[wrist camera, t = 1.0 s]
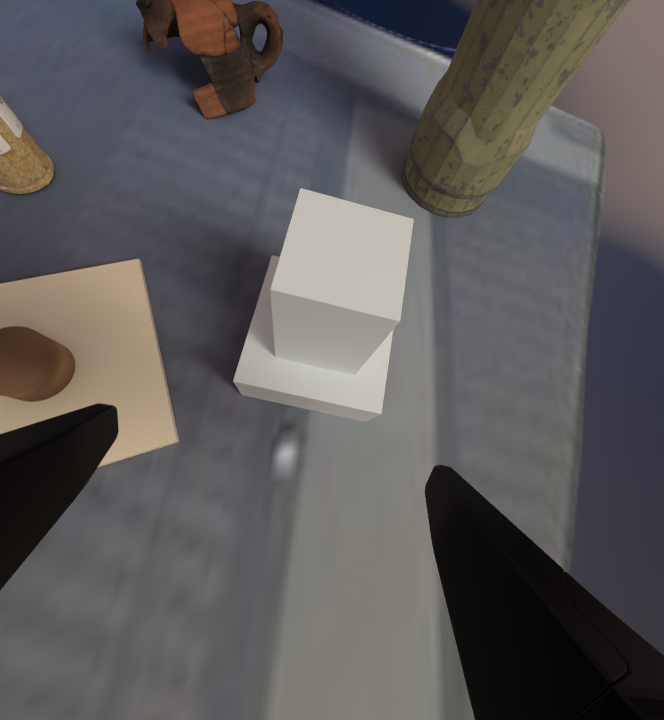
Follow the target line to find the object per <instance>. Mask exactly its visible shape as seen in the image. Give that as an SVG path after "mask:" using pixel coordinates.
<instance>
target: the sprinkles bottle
mask: <svg viewBox="0 0 664 720" xmlns="http://www.w3.org/2000/svg"><path fill="white" fill-rule="evenodd" d="M53 176H54V165H53V163H52V161H51V159H50V158H49V156H48V155H47V154H46V153H45V152H43V151H42V150H41V149H40V148H39V146H38V145H37V144H36V142H35V141H34V140H33V139H32V137H31V136H30V135H29V134H28V132H27V131H26V130H25V128H24V127H23V126H22V124H21V123H20V121H19V119H18V118H17V117H16V115H15V114H14V113H13V112H12V110H11V109H10V108H9V107H8V105H7V104H6V103H5V102H4V100H3V99H2V98H1V97H0V190H1V191H3V192H7V193H12V194H26V193H32V192H35V191H38V190H40V189H42V188H43V187H45V186H46V185H48V184H49V183H50V182H51V179H53Z"/></svg>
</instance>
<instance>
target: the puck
mask: <svg viewBox="0 0 664 720" xmlns="http://www.w3.org/2000/svg"><path fill="white" fill-rule="evenodd" d="M74 372H75V359H74V356H73V354H72V353H71V352H70V350H69V349H68V348H66V347H65V346H63V345H61V344H59V343H58V342H56V341H54V340H52V339H50V338H48V337H46V336H44V335H43V334H41V333H39V332H37V331H35V330H33V329H31V328H27V327H22V326H11V327H5V328H1V329H0V395H1V396H5V397H10V398H14V399H18V400H22V401H28V402H36V401H42V400H46V399H48V398H51V397H53V396H55V395H57V394H58V393H59V392H61V391H62V390H63V389H64V388H65V387H66V386H67V385H68V384H69V382H70V381H71V379H72V377H73V375H74Z"/></svg>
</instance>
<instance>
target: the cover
mask: <svg viewBox="0 0 664 720" xmlns="http://www.w3.org/2000/svg"><path fill="white" fill-rule="evenodd" d="M413 220H414V219H411V218H407V217H404V216H400V215H396V214H393V213H389V212H386V211H382V210H378V209H375V208H371V207H367V206H364V205H360V204H356V203H353V202H349V201H345V200H342V199H338V198H335V197H331V196H327V195H324V194H320V193H316V192H313V191H309V190H305V189H302V188H300V192H299V195H298V199H297V202H296V205H295V209H294V212H293V215H292V219H291V222H290V225H289V229H288V232H287V235H286V239H285V242H284V245H283V249H282V252H281V256H280V257H277V256H273V255H272V257H271V260H270V263H269V267H268V270H267V273H266V276H265V280H264V283H263V286H262V289H261V292H260V296H259V299H258V302H257V305H256V309H255V312H254V315H253V318H252V322H251V325H250V328H249V331H248V335H247V338H246V341H245V344H244V347H243V351H242V354H241V357H240V360H239V364H238V367H237V370H236V373H235V377H234V380H233V382H234V384H235V385H236V387H237V388H238V390H239V392H240V393H241V395H244V396H248V397H253V398H258V399H262V400H267V401H271V402H276V403H280V404H285V405H290V406H294V407H299V408H303V409H308V410H312V411H317V412H322V413H326V414H331V415H335V416H340V417H344V418H349V419H353V420H358V421H363V422H366V421H368V420H370V419H372V418H374V417H376V416H379V415H381V413H382V405H383V398H384V391H385V384H386V377H387V370H388V363H389V355H390V348H391V341H392V334H393V329H394V328H395V327H396V326H397V324H398V323H399V322H400V318H401V311H402V303H403V296H404V288H405V281H406V273H407V266H408V258H409V250H410V243H411V235H412V228H413Z"/></svg>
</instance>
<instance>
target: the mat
mask: <svg viewBox="0 0 664 720" xmlns="http://www.w3.org/2000/svg"><path fill="white" fill-rule="evenodd" d="M11 326H22V327H27V328H31V329H33V330H35V331H37V332H39V333H41V334H43V335H44V336H46V337H48V338H50V339H52V340H54V341H56V342H58V343H59V344H61V345H63V346H65V347H66V348H68V349H69V350H70V352H71V353H72V354H73V356H74V359H75V372H74V375H73V377H72V379H71V381H70V382H69V384H68V385H67V386H66V387H65V388H64V389H63V390H62V391H61V392H59V393H58V394H57V395H55V396H53V397H51V398H48V399H46V400H42V401H36V402H28V401H22V400H18V399H14V398H10V397H5V396H1V395H0V434H2V433H5V432H8V431H12V430H15V429H18V428H21V427H24V426H27V425H31V424H34V423H37V422H40V421H43V420H46V419H50V418H53V417H56V416H59V415H62V414H65V413H69V412H72V411H75V410H78V409H81V408H84V407H88V406H91V405H94V404H97V403H103V404H108V405H113V406H115V407H116V408H117V412H118V428H119V432H118V436H117V438H116V440H115V442H114V443H113V445H112V446H111V448H110V449H109V451H108V452H107V454H106V455H105V457H104V458H103V460H102V461H101V463H100V464H99V466H98V467H101V466H105V465H108V464H111V463H114V462H117V461H120V460H124V459H127V458H130V457H133V456H136V455H139V454H143V453H146V452H149V451H152V450H155V449H159V448H162V447H165V446H168V445H171V444H174V443H178V442H179V437H178V433H177V428H176V423H175V418H174V414H173V409H172V404H171V399H170V395H169V390H168V385H167V380H166V376H165V371H164V366H163V361H162V357H161V352H160V347H159V342H158V338H157V333H156V328H155V323H154V319H153V314H152V309H151V304H150V300H149V295H148V290H147V285H146V281H145V276H144V271H143V266H142V262H141V261H140V259H134V260H129V261H123V262H117V263H112V264H106V265H101V266H95V267H90V268H84V269H79V270H73V271H68V272H62V273H57V274H51V275H45V276H40V277H34V278H29V279H23V280H18V281H12V282H7V283H1V284H0V329H1V328H5V327H11ZM98 467H97V468H98Z"/></svg>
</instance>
